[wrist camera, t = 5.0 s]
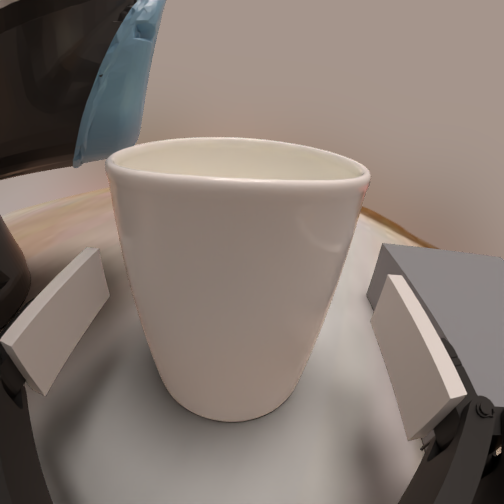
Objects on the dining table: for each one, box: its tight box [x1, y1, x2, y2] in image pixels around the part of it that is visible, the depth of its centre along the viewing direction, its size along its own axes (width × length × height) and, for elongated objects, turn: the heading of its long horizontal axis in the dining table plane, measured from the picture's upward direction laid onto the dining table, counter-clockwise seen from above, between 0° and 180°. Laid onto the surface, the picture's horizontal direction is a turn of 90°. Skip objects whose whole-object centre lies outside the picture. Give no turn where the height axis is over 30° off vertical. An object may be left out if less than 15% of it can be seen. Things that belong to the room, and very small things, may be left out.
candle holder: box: [105, 137, 371, 422], centre depth 13 cm, size 10×10×12 cm
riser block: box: [366, 243, 504, 452], centre depth 14 cm, size 16×16×5 cm
